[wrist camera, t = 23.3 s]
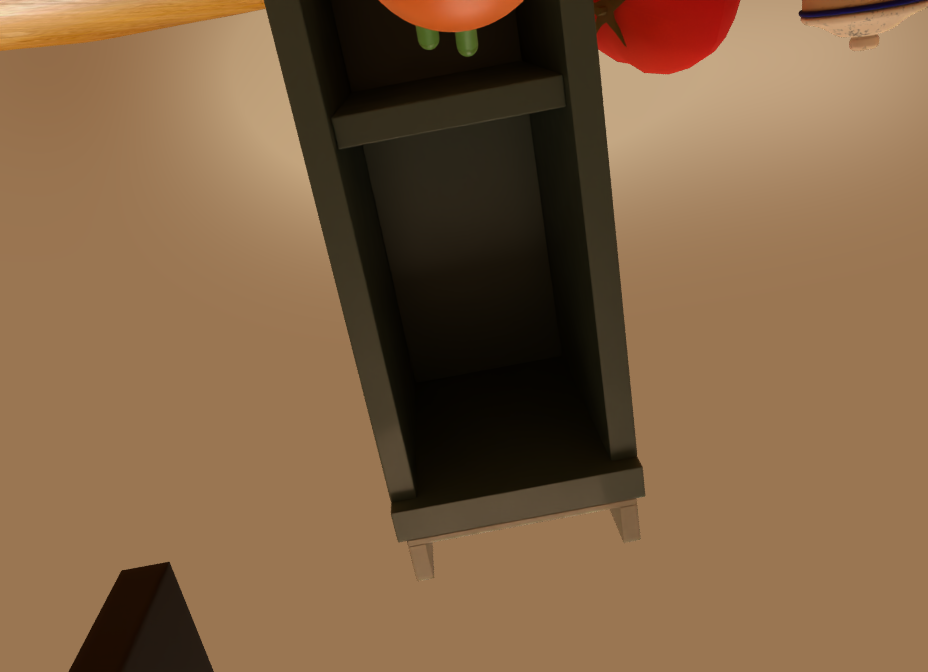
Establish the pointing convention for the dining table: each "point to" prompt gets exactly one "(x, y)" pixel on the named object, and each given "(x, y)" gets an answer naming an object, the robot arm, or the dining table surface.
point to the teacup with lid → (858, 18)
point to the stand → (472, 260)
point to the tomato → (662, 31)
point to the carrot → (450, 19)
